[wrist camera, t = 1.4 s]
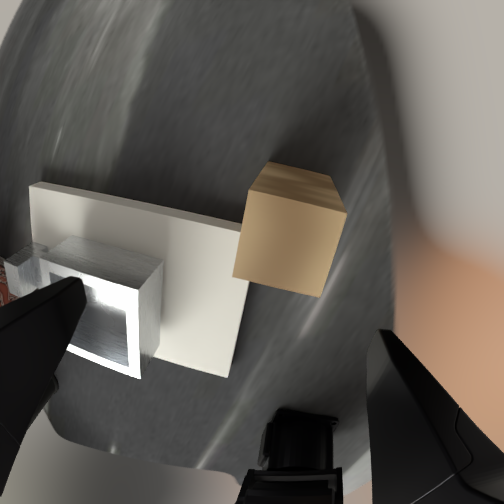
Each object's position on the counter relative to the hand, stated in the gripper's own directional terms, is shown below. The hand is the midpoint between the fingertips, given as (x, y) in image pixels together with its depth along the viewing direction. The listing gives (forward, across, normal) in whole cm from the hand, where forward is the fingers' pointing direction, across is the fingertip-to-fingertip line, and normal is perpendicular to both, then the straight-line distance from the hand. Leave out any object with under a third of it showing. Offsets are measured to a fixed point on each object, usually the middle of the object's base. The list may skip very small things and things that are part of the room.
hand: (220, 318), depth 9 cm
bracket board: (+13, +10, +9) cm, 18 cm away
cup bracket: (+11, +13, +9) cm, 19 cm away
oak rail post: (+13, -2, +1) cm, 13 cm away
